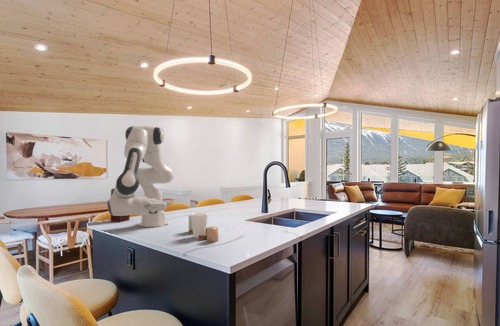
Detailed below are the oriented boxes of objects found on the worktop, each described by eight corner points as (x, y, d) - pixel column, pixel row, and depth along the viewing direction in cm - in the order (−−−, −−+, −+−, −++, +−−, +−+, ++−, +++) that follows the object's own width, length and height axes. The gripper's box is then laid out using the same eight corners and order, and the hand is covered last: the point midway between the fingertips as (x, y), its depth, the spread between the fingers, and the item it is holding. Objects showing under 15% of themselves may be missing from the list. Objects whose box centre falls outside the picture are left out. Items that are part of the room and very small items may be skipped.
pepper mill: (117, 218, 209) (118, 181, 209) (129, 219, 205) (130, 181, 205) (108, 221, 201) (108, 182, 201) (120, 222, 197) (120, 182, 197)
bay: (199, 240, 150) (199, 235, 150) (189, 234, 164) (189, 229, 164) (218, 237, 155) (218, 233, 155) (206, 231, 169) (207, 227, 169)
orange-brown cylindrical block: (206, 239, 151) (206, 227, 151) (217, 239, 153) (217, 226, 153) (207, 242, 145) (207, 229, 146) (219, 242, 147) (219, 228, 147)
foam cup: (202, 239, 151) (202, 215, 152) (187, 238, 155) (187, 214, 155) (210, 235, 160) (210, 213, 161) (196, 234, 164) (196, 212, 164)
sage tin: (188, 231, 170) (188, 215, 171) (197, 230, 174) (198, 214, 174) (191, 233, 165) (192, 216, 165) (201, 232, 168) (201, 215, 169)
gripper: (147, 201, 134) (175, 200, 141) (139, 197, 151) (165, 196, 159) (147, 214, 134) (175, 212, 141) (139, 208, 151) (165, 207, 159)
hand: (170, 203), depth 150 cm, fingers closed
